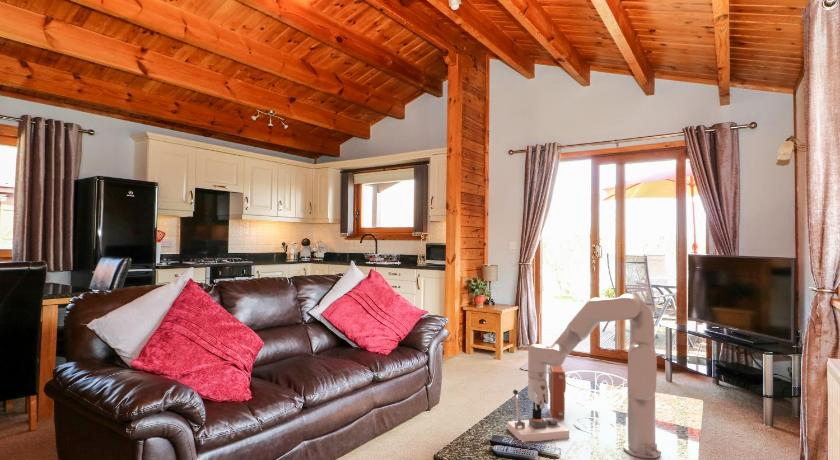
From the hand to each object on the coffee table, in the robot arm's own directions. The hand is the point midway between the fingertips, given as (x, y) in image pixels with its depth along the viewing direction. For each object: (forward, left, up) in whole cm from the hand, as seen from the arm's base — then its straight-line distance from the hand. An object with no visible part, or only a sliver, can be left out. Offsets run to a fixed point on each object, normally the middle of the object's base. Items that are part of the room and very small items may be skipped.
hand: (537, 418), depth 194 cm
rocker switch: (0, -7, -2) cm, 7 cm away
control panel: (+18, -19, -6) cm, 27 cm away
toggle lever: (0, +8, -2) cm, 8 cm away
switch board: (0, 0, -6) cm, 6 cm away
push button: (0, 0, -2) cm, 2 cm away
